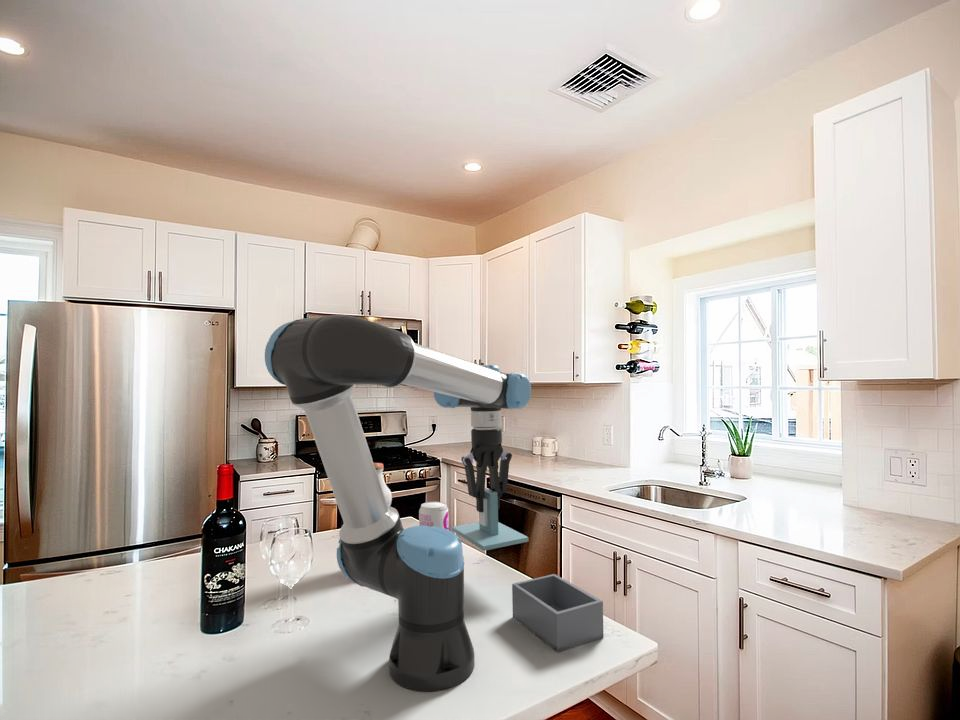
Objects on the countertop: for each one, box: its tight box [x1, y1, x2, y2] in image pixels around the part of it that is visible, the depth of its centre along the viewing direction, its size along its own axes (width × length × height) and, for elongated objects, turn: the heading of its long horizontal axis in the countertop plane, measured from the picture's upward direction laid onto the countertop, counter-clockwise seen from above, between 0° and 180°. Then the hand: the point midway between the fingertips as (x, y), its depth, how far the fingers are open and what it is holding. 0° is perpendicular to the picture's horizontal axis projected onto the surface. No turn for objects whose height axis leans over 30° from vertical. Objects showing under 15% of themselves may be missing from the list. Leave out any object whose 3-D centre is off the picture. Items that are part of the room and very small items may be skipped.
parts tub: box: [511, 573, 604, 653], centre depth 106 cm, size 16×11×7 cm
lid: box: [451, 487, 530, 552], centre depth 128 cm, size 17×12×11 cm
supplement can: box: [418, 501, 450, 531], centre depth 147 cm, size 8×8×15 cm
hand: (488, 523), depth 128 cm, fingers closed on lid, 2 cm apart
